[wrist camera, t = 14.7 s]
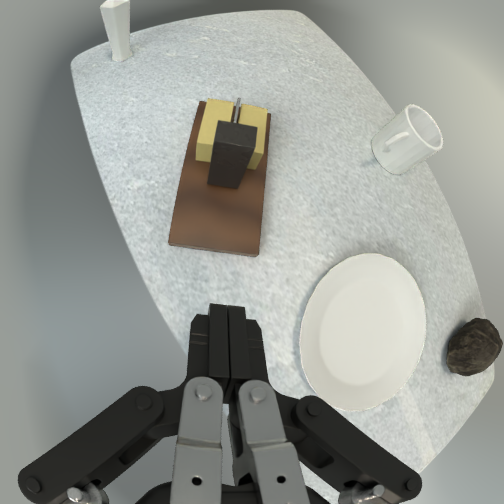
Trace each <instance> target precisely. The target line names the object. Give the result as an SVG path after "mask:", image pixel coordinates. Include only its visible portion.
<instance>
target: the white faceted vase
mask: <svg viewBox="0 0 504 504" xmlns="http://www.w3.org/2000/svg"><path fill="white" fill-rule="evenodd" d="M100 10H101V14H102V17H103V21H104V25H105V28H106V32H107V35H108V39H109V42H110V46H111V49H112V52H113V54H112V60H114V61H118V62H123V61H125V60H126V59H128V58H130V57H131V56H133V53H132V51H131V49H130V0H106V1H105V2H104V3H103V4H102V5H101V6H100Z"/></svg>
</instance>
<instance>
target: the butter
mask: <svg viewBox="0 0 504 504" xmlns="http://www.w3.org/2000/svg"><path fill="white" fill-rule="evenodd" d="M233 106H234V102H229V101H223V100H216V99H210V98H208V100H207V104H206V107H205V111H204V115H203V119H202V123H201V127H200V131H199V135H198V139H197V147H196V160H199V161H206V162H210V160H211V154H212V148H213V142H214V137H215V132H216V127H217V122H218V120H221V121H228V122H231V117H232V112H233ZM267 110H268V109H265V108H261V107H256V106H251V105H246V104H241V108H240V111H239V115H238V118H237V122H236V123H239V124H244V125H250V126H255V127H258V130H257V138H256V147H255V150H254V152H253V155H252V157H251V159H250V162H249V164H248V166H247V168H248V169H254V170H255V169H256V167H257V165H258V163H259V161H260V159H261V157H262V155H263V153H264V142H265V132H266V121H267Z"/></svg>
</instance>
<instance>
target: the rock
mask: <svg viewBox="0 0 504 504" xmlns="http://www.w3.org/2000/svg"><path fill="white" fill-rule="evenodd" d="M502 345H503V342H502V340H501V339H500V336H499V333H498V330H497V329H496V328H495V327H494V325H493V324H492V323H491V322H490V321H489V320H487V319H481V318H474V319H472V320H471V321H470V322H468V323H466V324H465V325H464V326H463V327H462V328H461V329H460V330H459V331H458V332H457V334H456V335H455V336H453V338H452V339H451V340H450V342H449V347H448V353H447V365H448V368H449V370H450V371H451V372H452V373H457V374H459V375H462V376H471V375H474V374H477V373H480V372H482V371H484V370H485V369H487V368H488V367H489V366H490V365H491V364H492V363H493V362H494V360H495V359H496V358H497V357H498V355H499V353H500V351H501V348H502Z"/></svg>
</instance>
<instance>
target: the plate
mask: <svg viewBox="0 0 504 504" xmlns="http://www.w3.org/2000/svg"><path fill="white" fill-rule="evenodd" d="M426 326H427V322H426V311H425V305H424V301H423V298H422V294H421V291H420V289H419V287H418V285H417V283H416V281H415V280H414V278H413V277H412V275H411V274H410V273H409V272H408V271H407V270H406V268H405V267H404V266H402V265H401V264H400V263H398V262H397V261H395V260H394V259H393V258H390V257H387V256H384V255H381V254H378V253H362V254H358V255H355V256H352V257H348V258H346V259H345V260H343V261H342V262H340V263H338V264H337V265H335V266H334V267H332V268H331V269H330V270H329V272H328V273H327V274H326V275H325V276H324V277H323V278H322V279H321V280H320V281H319V283H318V284H317V286H316V288H315V290H314V291H313V293H312V295H311V297H310V298H309V300H308V303H307V306H306V309H305V312H304V315H303V318H302V321H301V329H300V340H299V348H300V356H301V364H302V368H303V370H304V373H305V376H306V378H307V381H308V383H309V385H310V386H311V388H312V389H313V390H314V391H315V393H316V394H317V395H318V397H320V398H321V399H323V400H324V401H325V402H326V403H328V404H329V405H331V406H332V407H334V408H338V409H341V410H345V411H365V410H368V409H371V408H374V407H377V406H379V405H381V404H383V403H384V402H386V401H388V400H389V399H391V398H392V397H393V396H394V395H396V394H397V393H398V392H399V391H400V390H401V389H402V388H403V387H404V386H405V384H406V383H407V381H408V380H409V379H410V377H411V376H412V374H413V373H414V371H415V369H416V367H417V364H418V362H419V360H420V358H421V355H422V351H423V347H424V343H425V338H426Z"/></svg>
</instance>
